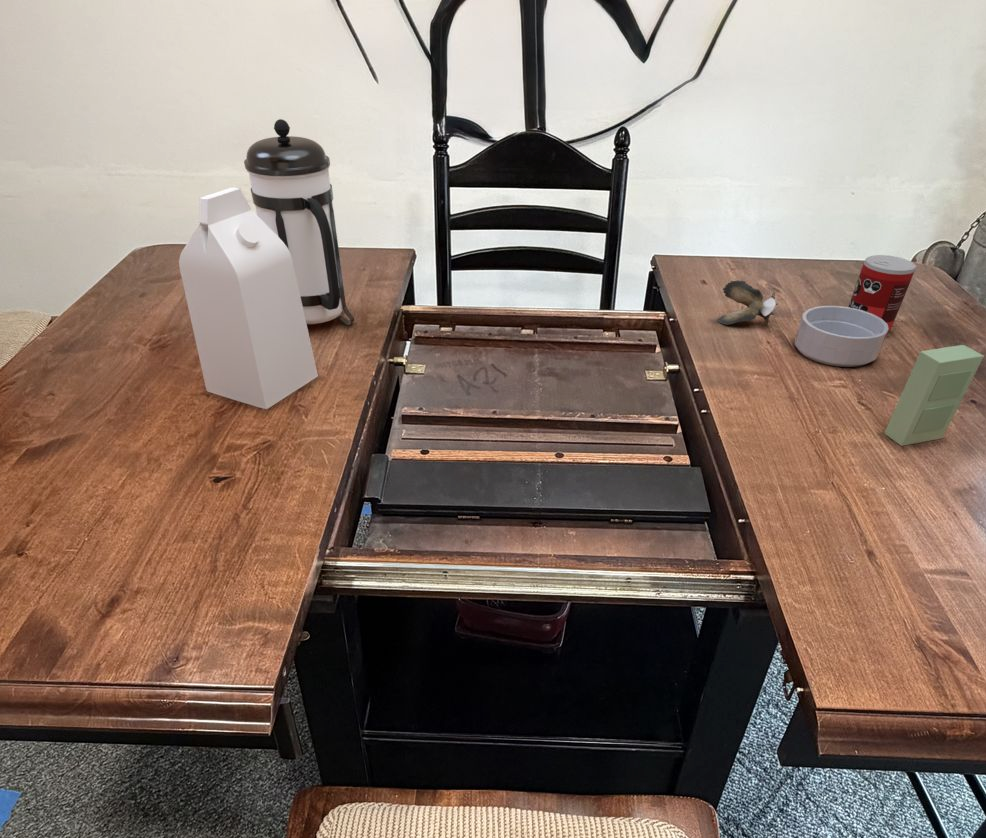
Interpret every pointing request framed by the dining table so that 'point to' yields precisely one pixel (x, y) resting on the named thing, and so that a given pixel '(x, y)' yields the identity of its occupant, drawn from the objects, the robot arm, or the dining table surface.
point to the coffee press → (301, 216)
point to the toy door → (932, 394)
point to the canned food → (882, 286)
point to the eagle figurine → (747, 303)
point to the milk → (245, 305)
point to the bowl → (840, 335)
